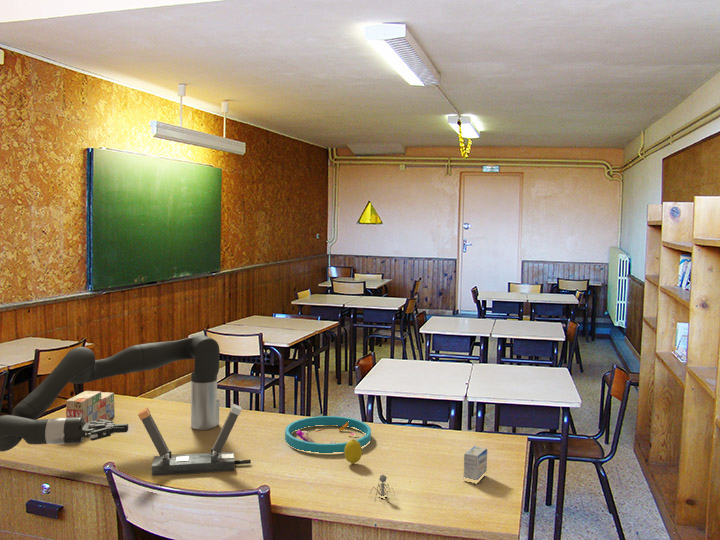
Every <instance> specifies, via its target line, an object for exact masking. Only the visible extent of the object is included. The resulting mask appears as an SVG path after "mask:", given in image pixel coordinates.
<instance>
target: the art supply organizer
mask: <svg viewBox="0 0 720 540" xmlns="http://www.w3.org/2000/svg"><path fill="white" fill-rule="evenodd" d="M348 421H349V422H348ZM315 425H338V426H337V427H339V426H342V427H339V429H338V432H339V431H341V430H342V431H343V430H344V429H345V428H346V427H347V426H349V427H355V428H357V429H359V430H361V431H362V432H364V433H366V435H365V434H364V436H362V437H360V438H358V439H355V440H356V441H358V442H359V443H360V445H361V447H362V446H364V445H366V444H367V443H368V442H369V441H370V440H372V429H371V427H370V425H369V424H367V423H365V422H364V421H361V420H358V419H356V418H350V417H345V416H339V415H319V416H312V417H311V416H310V417H305V418H300V419H298V420H297V419H296V420H294V421H292V422H290V423H289V424H287V426H286V427H285V429H284V441H285V440H286V441H285V443H286V442H287V443H288V444H289V445H290V446H292V447H294V448H296V449H299V450H304V451H311V452H319V453H333V452H344V450H345V446H346V444H347V443H348V442H349V441H347V442H339V443H337V442H335V441H334V440H333V441H329V443H319V442H315V440H313V438H312V437H310V436H309V435H308V433H309V432H310V430H308V431H307V430H302V429H301V428H304V427H308V426H315ZM298 429H301V430H298ZM295 430H298V431H296V432H295V433H296V435H297V436H298V437H299V438H300V439H299V438H296V437H295V436H293V434H291V433H292V432H293V431H295ZM342 431H341V432H342ZM362 432H361V433H362ZM349 434H351V435H354V434H356V435H357V433H354V432H349ZM290 446H289V447H290Z"/></svg>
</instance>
